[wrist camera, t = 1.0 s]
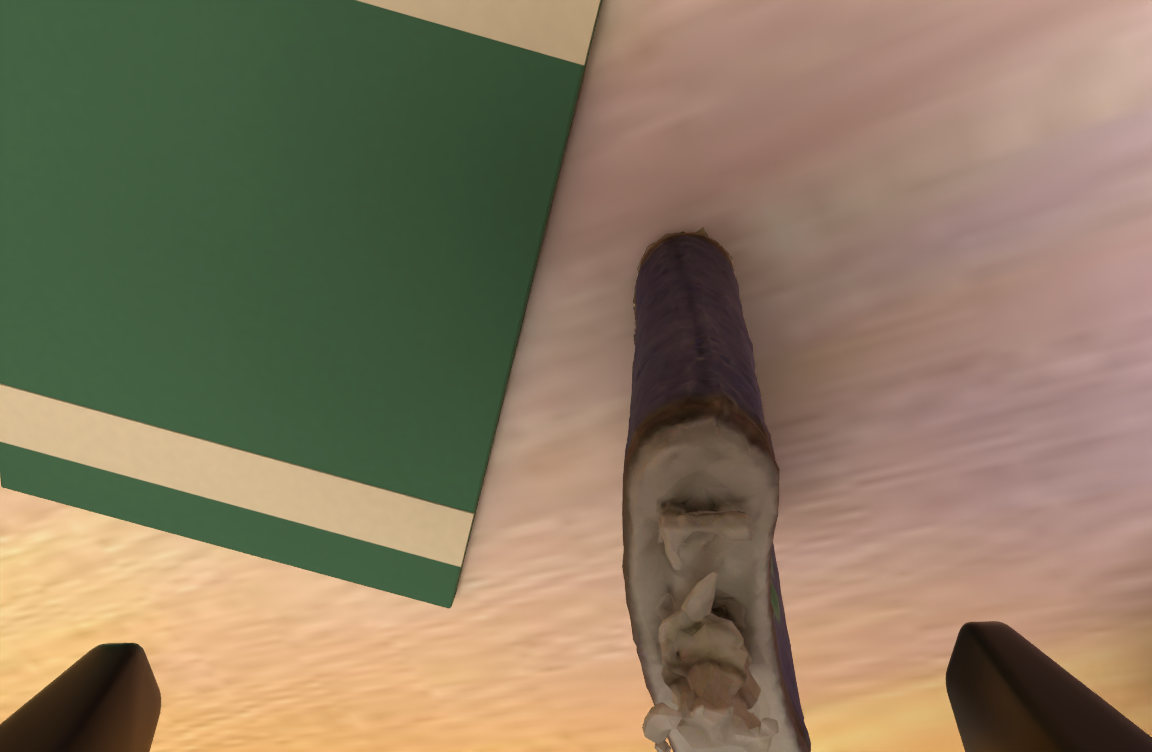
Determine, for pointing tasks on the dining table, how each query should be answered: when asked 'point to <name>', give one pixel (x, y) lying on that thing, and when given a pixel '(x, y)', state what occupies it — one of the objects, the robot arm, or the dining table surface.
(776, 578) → the flask
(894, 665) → the dining table surface
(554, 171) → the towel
